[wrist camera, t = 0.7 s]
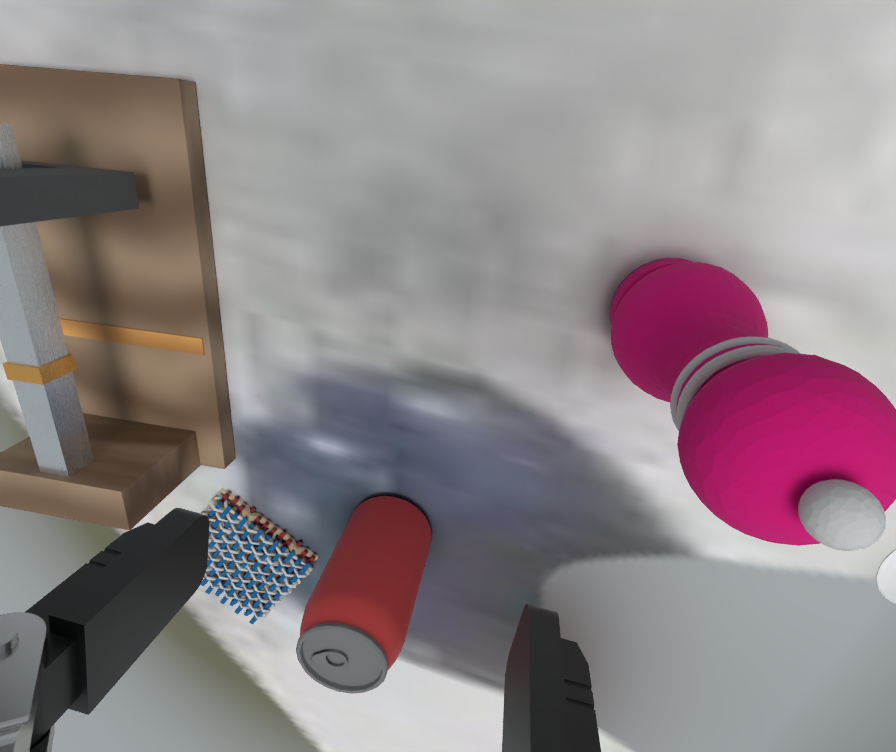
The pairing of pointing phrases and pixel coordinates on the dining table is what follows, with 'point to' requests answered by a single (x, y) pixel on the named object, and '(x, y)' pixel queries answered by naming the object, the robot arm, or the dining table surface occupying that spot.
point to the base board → (126, 293)
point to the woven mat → (251, 557)
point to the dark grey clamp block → (62, 192)
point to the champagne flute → (888, 578)
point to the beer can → (365, 596)
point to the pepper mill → (757, 410)
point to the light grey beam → (38, 343)
